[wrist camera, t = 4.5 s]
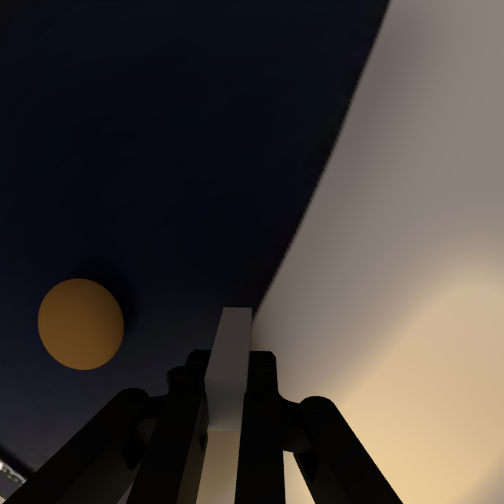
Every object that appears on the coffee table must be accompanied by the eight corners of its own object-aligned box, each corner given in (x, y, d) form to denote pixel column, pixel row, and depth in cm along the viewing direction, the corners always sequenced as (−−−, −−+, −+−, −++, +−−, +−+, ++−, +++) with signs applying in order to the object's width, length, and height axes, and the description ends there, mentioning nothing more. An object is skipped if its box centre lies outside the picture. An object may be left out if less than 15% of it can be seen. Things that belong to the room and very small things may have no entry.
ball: (61, 266, 19) (11, 293, 14) (131, 268, 19) (89, 302, 13) (75, 338, 20) (35, 377, 15) (141, 346, 20) (110, 395, 15)
